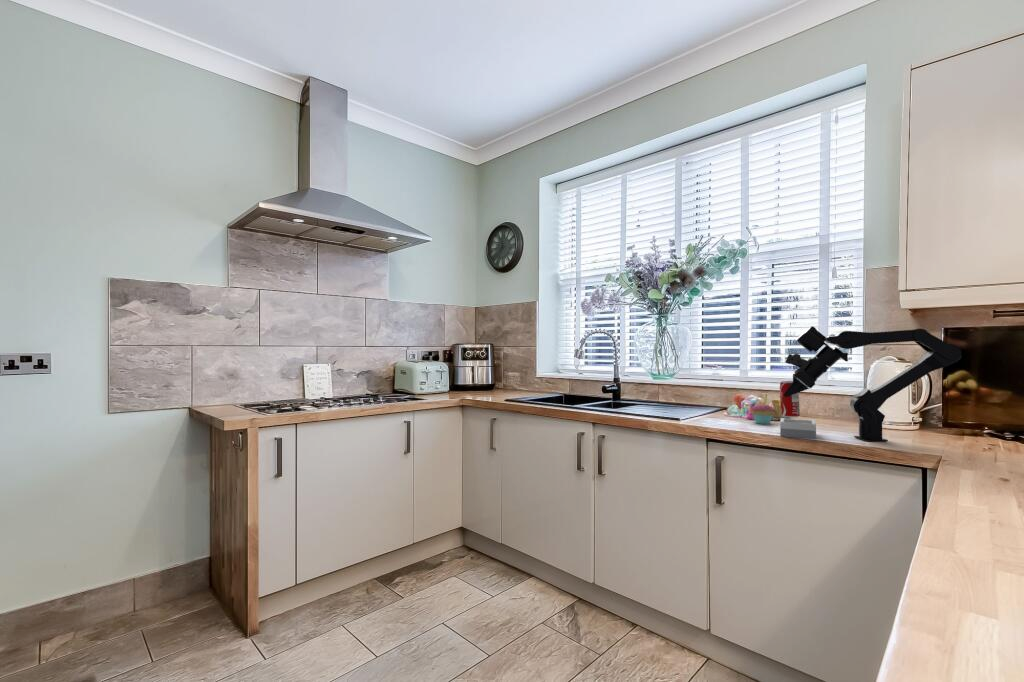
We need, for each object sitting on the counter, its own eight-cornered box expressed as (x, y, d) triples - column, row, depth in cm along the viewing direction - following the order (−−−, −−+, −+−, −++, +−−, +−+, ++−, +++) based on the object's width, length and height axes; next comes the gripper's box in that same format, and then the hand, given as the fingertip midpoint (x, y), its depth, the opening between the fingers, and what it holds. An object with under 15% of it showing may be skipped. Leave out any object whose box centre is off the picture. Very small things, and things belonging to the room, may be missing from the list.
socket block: (814, 433, 166) (814, 420, 166) (816, 438, 157) (816, 424, 158) (781, 431, 171) (780, 418, 171) (780, 435, 162) (780, 422, 162)
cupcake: (780, 423, 187) (780, 392, 187) (763, 425, 184) (763, 392, 184) (761, 420, 195) (761, 390, 195) (744, 422, 192) (744, 390, 192)
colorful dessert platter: (791, 415, 211) (791, 394, 211) (789, 423, 190) (789, 399, 191) (727, 411, 224) (727, 391, 224) (719, 418, 203) (719, 395, 204)
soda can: (779, 415, 169) (778, 380, 170) (798, 415, 167) (796, 380, 168) (782, 417, 164) (780, 381, 164) (800, 417, 162) (799, 381, 162)
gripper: (800, 344, 172) (766, 376, 178) (800, 345, 156) (763, 380, 161) (828, 367, 168) (792, 399, 174) (831, 369, 152) (792, 405, 157)
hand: (784, 395), depth 167 cm, fingers closed on soda can, 6 cm apart
